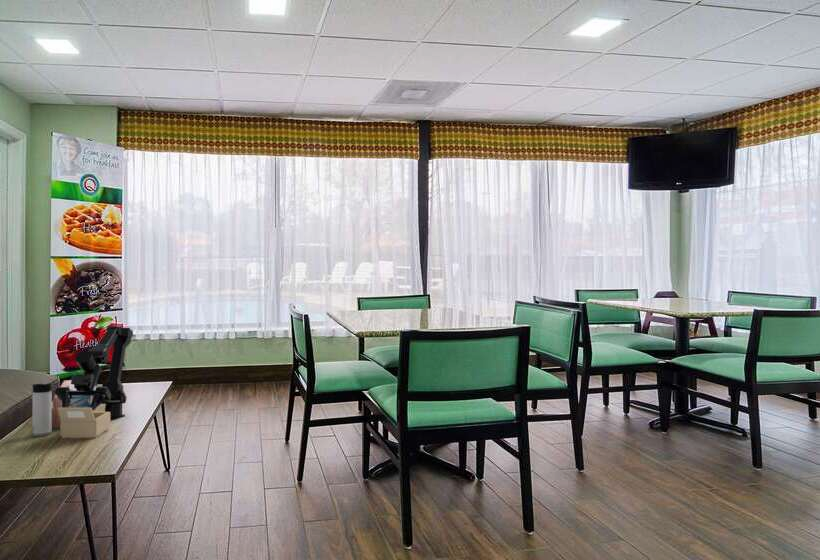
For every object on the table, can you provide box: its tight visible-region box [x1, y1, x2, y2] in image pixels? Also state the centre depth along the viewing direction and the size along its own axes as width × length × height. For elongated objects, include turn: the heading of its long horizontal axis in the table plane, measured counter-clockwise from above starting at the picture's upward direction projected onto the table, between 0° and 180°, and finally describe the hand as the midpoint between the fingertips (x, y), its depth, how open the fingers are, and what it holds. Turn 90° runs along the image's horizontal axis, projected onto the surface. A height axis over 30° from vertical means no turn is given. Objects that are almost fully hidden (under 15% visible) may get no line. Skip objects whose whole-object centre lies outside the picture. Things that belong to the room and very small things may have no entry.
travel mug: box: [31, 383, 53, 438], centre depth 228 cm, size 6×7×20 cm
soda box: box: [52, 379, 97, 429], centre depth 258 cm, size 41×14×13 cm, turn 25°
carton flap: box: [57, 408, 95, 421], centre depth 222 cm, size 6×12×1 cm
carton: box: [59, 411, 111, 439], centre depth 230 cm, size 13×13×7 cm
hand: (76, 413), depth 222 cm, fingers open, 9 cm apart
